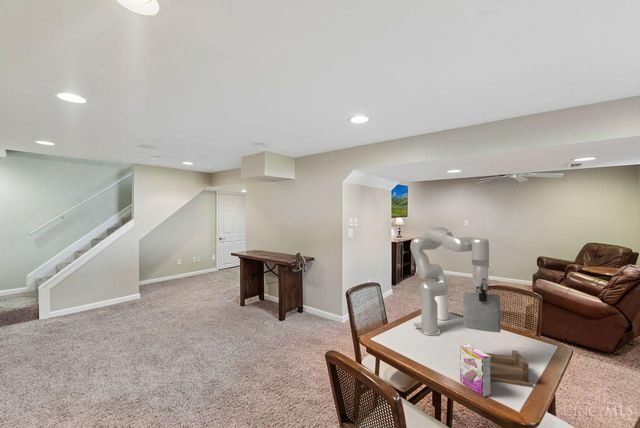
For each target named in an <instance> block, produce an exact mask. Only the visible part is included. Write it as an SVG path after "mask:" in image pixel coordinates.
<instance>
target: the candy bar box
mask: <svg viewBox="0 0 640 428" xmlns="http://www.w3.org/2000/svg"><path fill="white" fill-rule="evenodd" d="M459 348H460V350H459V351H460V355H459V358H460V359H459V360H460V363H459V365H460V366H459V367H460V368H459V371H460V372H459V373H460V375H459V376H460V377H459V378H460V379H459V380H460V383H462V384H463V385H465V386H466V387H467V388H469V389H470V390H472V391H473V392H475V393H476V394H478V395H479V396H480V397H482V398H485V397H487V396H491V394H492V393H491V387H492V386H491V383H492V381H491V356H489V355H487V354H485V353H486V352H484V351H481V350H480V349H479V348H476V347H474V346H473V345H471V344H468V343H466V344H462V345H460V347H459Z"/></svg>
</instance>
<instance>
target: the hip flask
mask: <svg viewBox="0 0 640 428" xmlns="http://www.w3.org/2000/svg"><path fill="white" fill-rule="evenodd" d="M477 291H478V292H476V291H463V292H462V316H463V320H462V321H463V324H462V325H463V327H464V328H465V329H470V330H475V331H483V332H489V333H490V332H491V333H501V302H500V300H501V297H500V295H499V294H495V293H494V294H493V293H492V294H491V293H486V294H487V301H486V302H483V301H479V293H480V291H479V289H477Z"/></svg>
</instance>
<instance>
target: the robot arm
mask: <svg viewBox="0 0 640 428" xmlns="http://www.w3.org/2000/svg"><path fill="white" fill-rule="evenodd" d="M441 246H443V247H444V248H445V249H447V250H450V251H453V252H457V253H463V252H465V253H466V252H471V266H472V284H473V285H475V292H478V291H477V289H479V291H480V293H479V301H483V302H486V301H487V294H488V293H487V290H488V289H487V288H488V287H489V271H488V270H489V269H488V268H490V241H489V239H487V238H480V237H479V238H478V237H474V236H461V237H455V236H454V235H453V233H452V232H451V231H449V230H448V229H447V228H446V227H429V228H428V229H426V230H425V232H424V236H418V237H414V238H413V239H412V240H411V241H410V246H409V247H410V252H411V254H412V256H413V259H414V263H415V267H416V271H417V274H418V276H419V278H420V279H421V280H430V281H424V282H422V283H421V284H420V285H419V293H420V300H421V301H420V306H421V309H420V310H421V314H420V316H421V321H420V322H419V323H418V322H414V323H413V326H414V327H416V328H418V331H419V332H420V333H421V334H423V335H426V336H431V337H435V336H439V335H441V330H440V329H439V328H438V327H439V325H438V324H439V323H438V321H439V320H438V306H437V302H436V300H435V297H436V296H443V295H445V294H446V295H447V293H448V290H449V289H448V283H447V280H446V278H445V273H444V271H443V268H442V266H440V265H439V264H438V263H430V260H429V256H428V254H426V253H425V251H427V250H429V251H430V250H432V251H433V250H437V249H438V248H439V247H441Z"/></svg>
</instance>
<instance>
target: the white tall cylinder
mask: <svg viewBox="0 0 640 428" xmlns="http://www.w3.org/2000/svg"><path fill="white" fill-rule="evenodd" d="M434 298H435V300H436V302H437V306H438V321H448V319H449V301H448V298H447V293H446V294H445V295H443V296H436V297H434Z"/></svg>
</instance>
